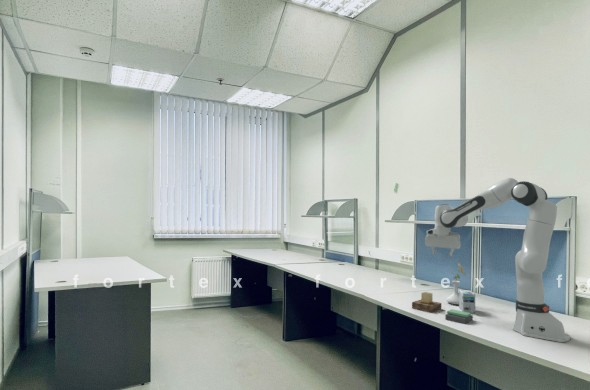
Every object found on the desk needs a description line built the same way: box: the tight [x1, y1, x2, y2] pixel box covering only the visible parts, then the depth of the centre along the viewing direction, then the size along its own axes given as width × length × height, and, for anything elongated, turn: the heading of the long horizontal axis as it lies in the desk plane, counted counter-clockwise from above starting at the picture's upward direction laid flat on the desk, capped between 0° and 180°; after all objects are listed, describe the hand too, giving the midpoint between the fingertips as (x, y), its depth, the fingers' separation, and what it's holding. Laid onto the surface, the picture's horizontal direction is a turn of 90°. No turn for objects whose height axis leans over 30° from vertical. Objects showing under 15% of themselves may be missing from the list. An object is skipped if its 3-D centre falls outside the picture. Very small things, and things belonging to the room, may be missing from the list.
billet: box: [420, 291, 433, 305], centre depth 217 cm, size 4×4×8 cm
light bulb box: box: [458, 289, 476, 314], centre depth 215 cm, size 11×7×11 cm, turn 168°
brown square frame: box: [411, 299, 442, 313], centre depth 217 cm, size 12×12×4 cm
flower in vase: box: [445, 262, 466, 306], centre depth 232 cm, size 13×11×25 cm
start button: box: [446, 308, 472, 317], centre depth 196 cm, size 10×6×3 cm, turn 44°
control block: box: [445, 313, 474, 325], centre depth 196 cm, size 10×10×2 cm
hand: (442, 255), depth 219 cm, fingers open, 8 cm apart
